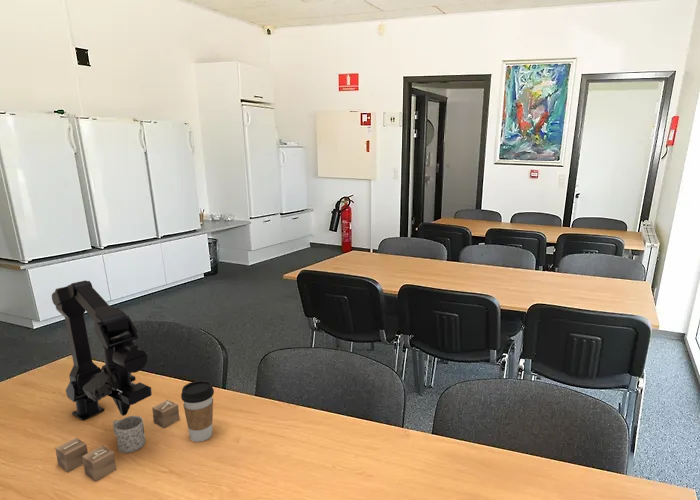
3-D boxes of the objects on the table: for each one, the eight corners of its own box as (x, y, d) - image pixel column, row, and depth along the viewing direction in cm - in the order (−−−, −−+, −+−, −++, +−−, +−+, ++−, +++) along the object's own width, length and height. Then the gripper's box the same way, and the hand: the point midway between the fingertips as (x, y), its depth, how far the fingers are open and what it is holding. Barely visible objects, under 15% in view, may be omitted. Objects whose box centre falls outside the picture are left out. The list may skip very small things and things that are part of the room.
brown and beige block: (153, 423, 130) (152, 406, 129) (168, 414, 134) (167, 399, 133) (164, 428, 127) (162, 412, 126) (179, 419, 131) (178, 403, 130)
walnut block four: (85, 474, 109) (82, 455, 108) (105, 462, 113) (102, 444, 112) (95, 482, 106) (93, 463, 105) (116, 469, 111) (113, 451, 109)
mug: (150, 441, 121) (148, 419, 120) (128, 456, 115) (125, 433, 114) (126, 431, 126) (124, 410, 124) (104, 444, 120) (101, 422, 119)
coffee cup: (207, 446, 119) (203, 395, 116) (178, 442, 121) (173, 392, 118) (222, 428, 127) (218, 379, 124) (195, 424, 129) (191, 376, 126)
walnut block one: (58, 465, 112) (55, 447, 111) (78, 454, 116) (76, 436, 115) (68, 472, 110) (65, 454, 108) (88, 461, 114) (86, 443, 113)
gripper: (66, 363, 114) (74, 418, 117) (106, 383, 104) (114, 443, 107) (109, 348, 123) (115, 399, 126) (149, 364, 113) (155, 420, 116)
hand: (124, 414), depth 119 cm, fingers closed
